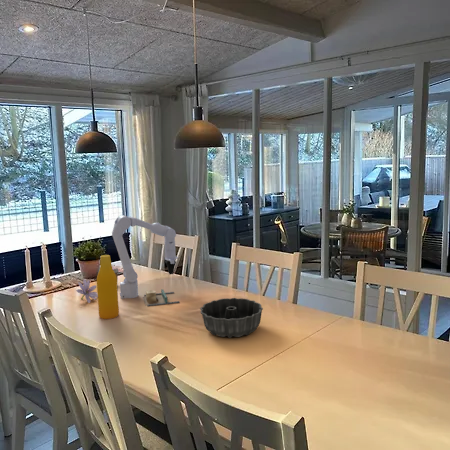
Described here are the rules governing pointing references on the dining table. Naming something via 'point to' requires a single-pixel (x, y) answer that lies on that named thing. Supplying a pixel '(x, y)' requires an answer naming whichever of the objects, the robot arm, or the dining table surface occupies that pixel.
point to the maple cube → (151, 296)
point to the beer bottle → (107, 289)
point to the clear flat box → (157, 299)
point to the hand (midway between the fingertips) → (171, 273)
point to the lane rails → (163, 303)
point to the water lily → (87, 290)
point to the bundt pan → (231, 316)
